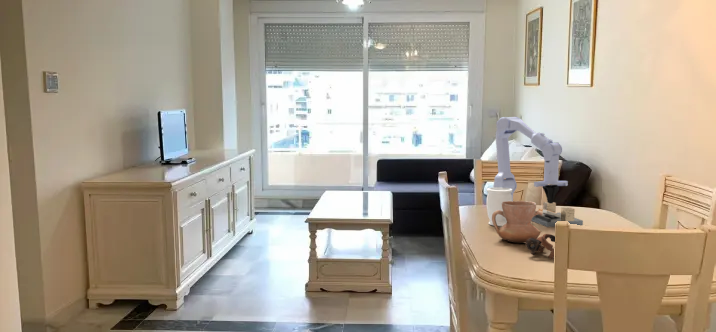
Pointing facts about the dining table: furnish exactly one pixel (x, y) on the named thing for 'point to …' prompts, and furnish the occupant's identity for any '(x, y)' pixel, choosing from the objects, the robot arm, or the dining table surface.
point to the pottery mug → (543, 242)
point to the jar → (497, 203)
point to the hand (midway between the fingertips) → (550, 202)
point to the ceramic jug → (517, 221)
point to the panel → (548, 221)
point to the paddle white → (551, 214)
